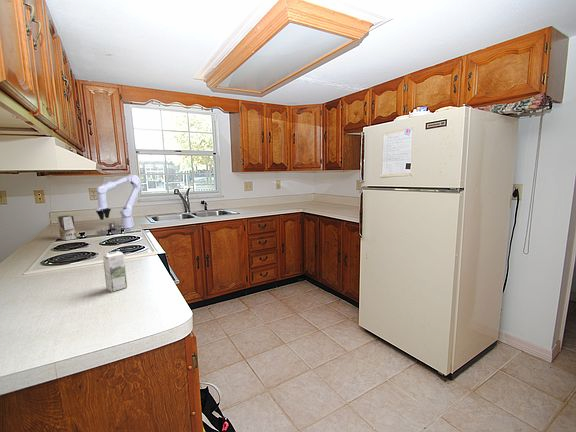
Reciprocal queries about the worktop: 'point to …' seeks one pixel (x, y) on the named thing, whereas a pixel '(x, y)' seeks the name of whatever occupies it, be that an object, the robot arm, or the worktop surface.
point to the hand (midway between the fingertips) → (104, 218)
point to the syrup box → (115, 271)
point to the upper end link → (107, 230)
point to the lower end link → (119, 231)
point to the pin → (111, 226)
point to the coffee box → (66, 227)
